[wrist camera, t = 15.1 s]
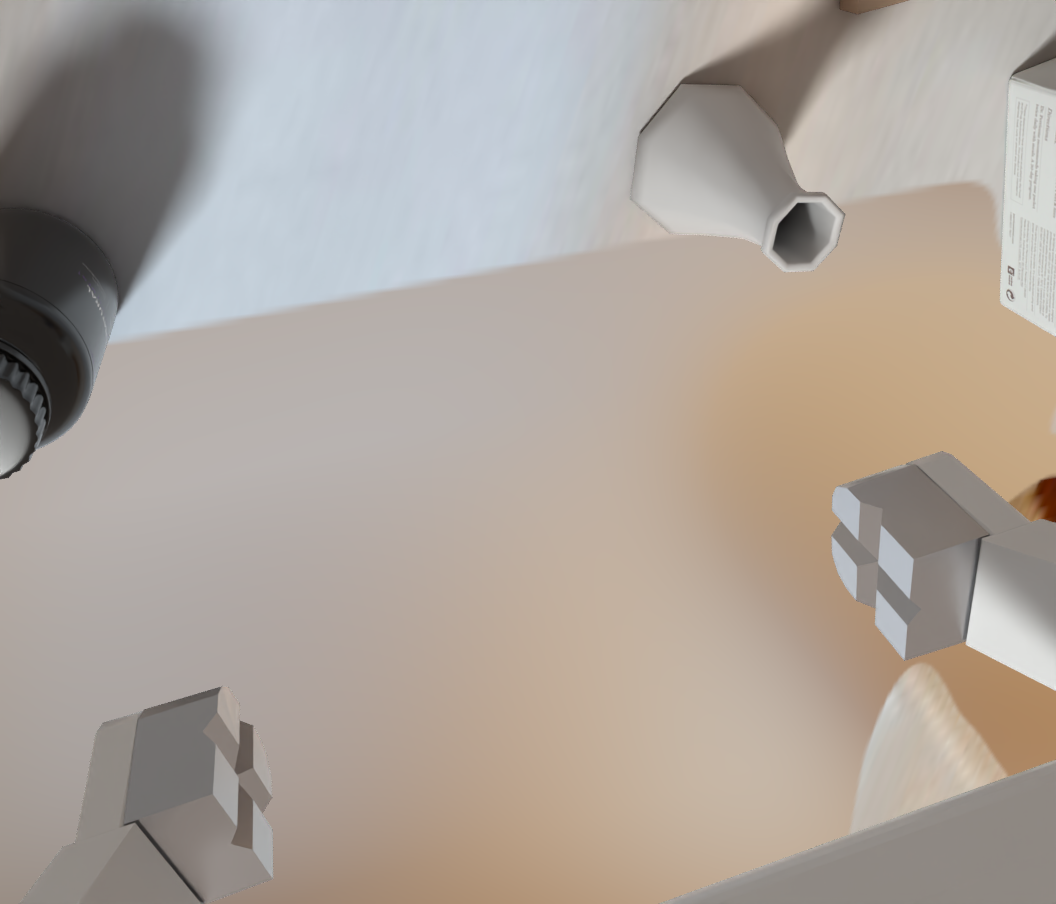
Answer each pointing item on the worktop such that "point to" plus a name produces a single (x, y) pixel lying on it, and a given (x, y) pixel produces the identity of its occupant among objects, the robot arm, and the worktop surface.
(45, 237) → the supplement bottle
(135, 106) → the worktop surface
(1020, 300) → the supplement box
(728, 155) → the flask
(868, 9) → the square holder on base
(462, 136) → the worktop surface
